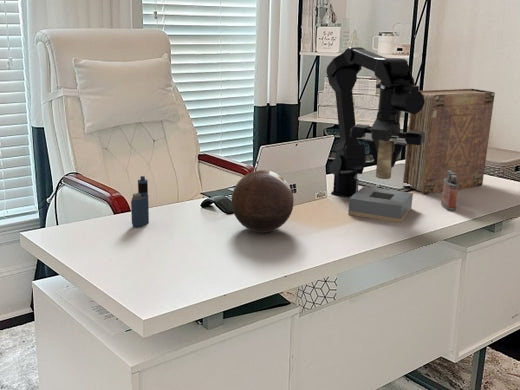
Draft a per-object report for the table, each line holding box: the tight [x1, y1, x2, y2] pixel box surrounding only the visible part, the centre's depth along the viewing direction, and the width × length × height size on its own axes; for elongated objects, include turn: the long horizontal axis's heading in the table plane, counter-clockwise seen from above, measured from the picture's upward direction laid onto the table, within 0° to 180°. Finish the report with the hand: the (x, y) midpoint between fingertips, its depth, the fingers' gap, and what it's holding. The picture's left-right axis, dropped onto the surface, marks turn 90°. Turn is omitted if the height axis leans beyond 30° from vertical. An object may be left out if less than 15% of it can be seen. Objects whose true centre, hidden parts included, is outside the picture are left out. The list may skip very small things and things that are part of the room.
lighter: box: [440, 171, 459, 212], centre depth 173 cm, size 8×3×10 cm, turn 179°
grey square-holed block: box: [347, 185, 414, 224], centre depth 168 cm, size 14×14×4 cm
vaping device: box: [130, 175, 150, 228], centre depth 151 cm, size 3×5×12 cm, turn 155°
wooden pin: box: [375, 138, 395, 180], centre depth 164 cm, size 4×4×10 cm
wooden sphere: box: [231, 169, 295, 233], centre depth 149 cm, size 15×15×15 cm
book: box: [402, 88, 496, 195], centre depth 191 cm, size 25×9×30 cm, turn 118°
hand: (384, 166), depth 164 cm, fingers closed on wooden pin, 4 cm apart
